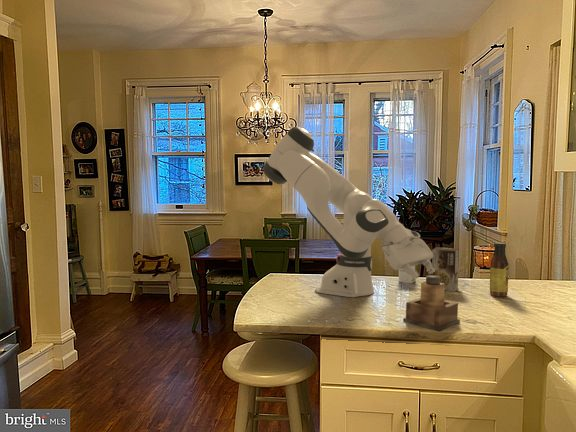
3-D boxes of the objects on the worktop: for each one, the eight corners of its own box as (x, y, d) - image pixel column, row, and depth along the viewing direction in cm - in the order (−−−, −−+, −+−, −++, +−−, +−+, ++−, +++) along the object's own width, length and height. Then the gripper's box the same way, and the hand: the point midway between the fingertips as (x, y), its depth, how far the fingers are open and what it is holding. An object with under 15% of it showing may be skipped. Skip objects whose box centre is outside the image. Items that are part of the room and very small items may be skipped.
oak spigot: (420, 318, 136) (421, 276, 135) (428, 315, 139) (430, 274, 138) (435, 322, 132) (436, 279, 131) (443, 319, 136) (444, 277, 135)
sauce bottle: (509, 297, 164) (512, 244, 162) (491, 297, 165) (493, 244, 163) (504, 293, 170) (507, 242, 168) (487, 292, 171) (489, 241, 170)
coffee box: (458, 288, 177) (459, 248, 176) (454, 292, 172) (456, 250, 171) (435, 285, 182) (436, 246, 181) (430, 288, 177) (432, 248, 175)
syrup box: (411, 283, 185) (412, 249, 184) (397, 282, 188) (398, 248, 187) (415, 281, 190) (416, 247, 189) (402, 279, 193) (402, 246, 192)
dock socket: (403, 321, 136) (403, 302, 136) (424, 313, 144) (424, 295, 144) (439, 331, 127) (440, 310, 127) (459, 322, 136) (460, 303, 135)
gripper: (385, 237, 135) (413, 274, 129) (420, 231, 149) (447, 264, 143) (373, 250, 139) (400, 286, 133) (408, 243, 153) (434, 276, 147)
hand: (424, 275), depth 138 cm, fingers open, 8 cm apart
